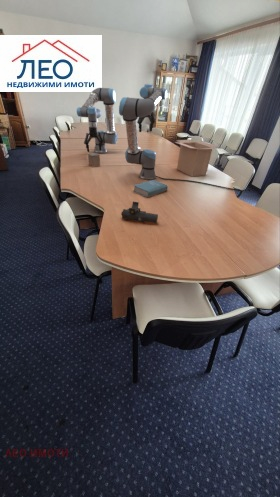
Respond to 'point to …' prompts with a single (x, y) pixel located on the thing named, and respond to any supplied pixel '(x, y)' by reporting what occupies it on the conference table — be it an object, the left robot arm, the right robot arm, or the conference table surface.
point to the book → (150, 188)
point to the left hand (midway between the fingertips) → (94, 151)
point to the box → (194, 157)
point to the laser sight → (138, 214)
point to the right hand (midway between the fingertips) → (145, 131)
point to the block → (94, 159)
